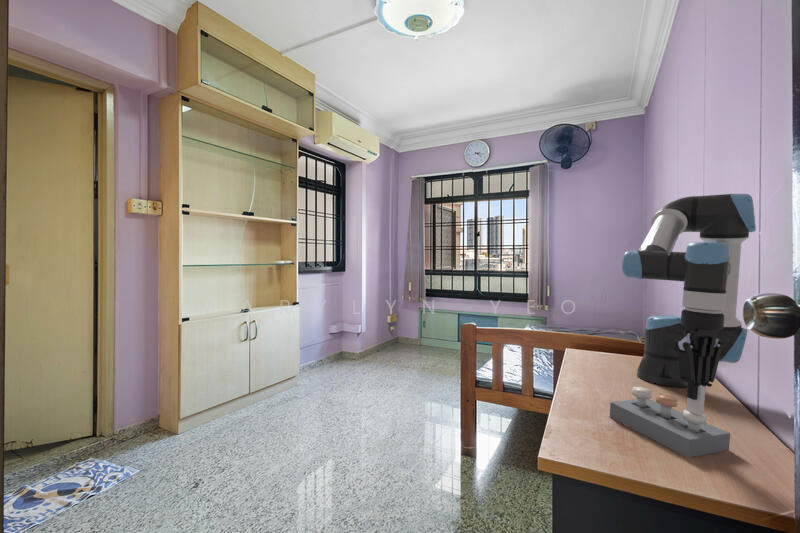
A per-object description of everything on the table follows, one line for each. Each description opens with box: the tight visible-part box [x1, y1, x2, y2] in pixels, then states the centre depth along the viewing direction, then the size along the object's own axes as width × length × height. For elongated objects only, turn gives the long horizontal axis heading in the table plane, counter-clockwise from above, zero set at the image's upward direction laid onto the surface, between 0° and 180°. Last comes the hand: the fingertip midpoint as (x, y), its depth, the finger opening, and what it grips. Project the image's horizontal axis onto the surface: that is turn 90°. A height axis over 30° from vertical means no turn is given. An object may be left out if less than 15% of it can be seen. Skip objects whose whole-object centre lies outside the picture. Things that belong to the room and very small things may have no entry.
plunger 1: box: [631, 386, 653, 409], centre depth 96 cm, size 4×4×5 cm
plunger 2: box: [682, 408, 707, 433], centre depth 84 cm, size 4×4×5 cm
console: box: [609, 398, 731, 458], centre depth 90 cm, size 13×20×4 cm, turn 18°
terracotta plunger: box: [655, 393, 678, 420], centre depth 90 cm, size 4×4×5 cm
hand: (694, 412), depth 83 cm, fingers closed
